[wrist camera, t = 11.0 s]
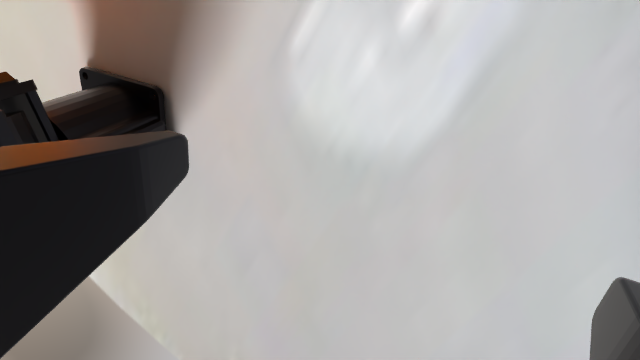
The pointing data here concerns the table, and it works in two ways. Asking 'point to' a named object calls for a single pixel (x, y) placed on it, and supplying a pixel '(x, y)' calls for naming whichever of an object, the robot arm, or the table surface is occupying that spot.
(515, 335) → the table surface
